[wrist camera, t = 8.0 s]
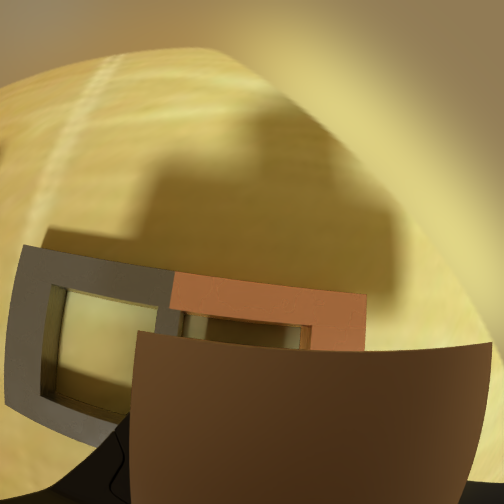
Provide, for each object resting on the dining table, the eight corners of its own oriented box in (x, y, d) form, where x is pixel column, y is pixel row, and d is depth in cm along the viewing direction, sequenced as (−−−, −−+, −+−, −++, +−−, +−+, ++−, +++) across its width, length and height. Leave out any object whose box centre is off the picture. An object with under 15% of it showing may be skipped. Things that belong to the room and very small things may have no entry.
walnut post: (282, 348, 15) (491, 342, 3) (274, 422, 13) (422, 566, 1) (201, 339, 14) (137, 329, 2) (193, 416, 13) (149, 603, 1)
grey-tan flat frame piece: (351, 299, 17) (366, 294, 15) (334, 457, 14) (347, 467, 12) (38, 253, 15) (23, 244, 13) (20, 401, 12) (4, 404, 10)
